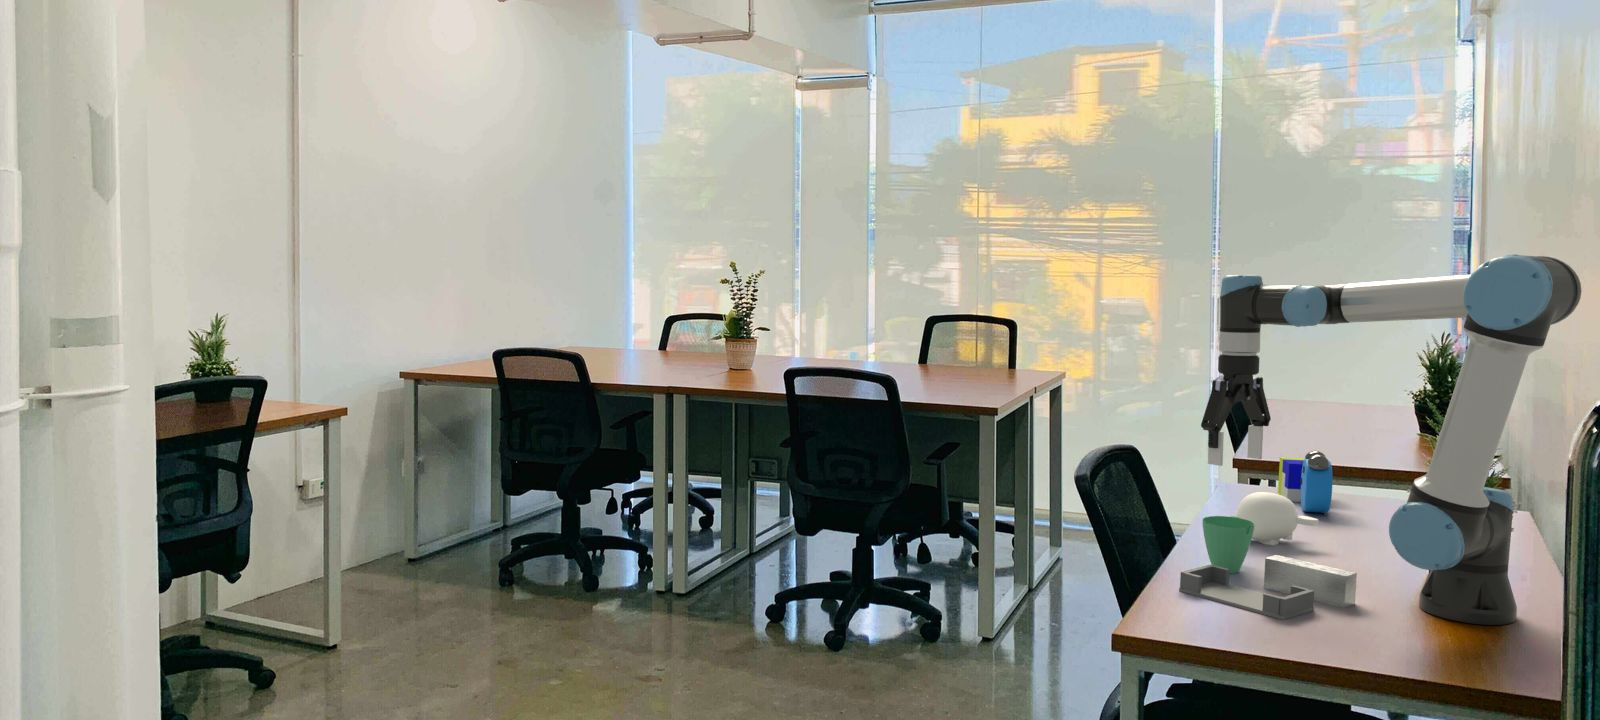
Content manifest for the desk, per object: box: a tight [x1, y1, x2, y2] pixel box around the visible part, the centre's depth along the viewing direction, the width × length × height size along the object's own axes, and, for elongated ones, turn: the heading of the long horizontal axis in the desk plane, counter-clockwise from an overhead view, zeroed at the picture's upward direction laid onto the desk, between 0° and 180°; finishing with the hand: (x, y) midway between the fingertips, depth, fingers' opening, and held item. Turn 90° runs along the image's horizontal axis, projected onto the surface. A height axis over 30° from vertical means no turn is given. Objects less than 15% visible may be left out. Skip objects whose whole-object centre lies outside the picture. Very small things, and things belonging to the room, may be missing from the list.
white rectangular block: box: [1263, 554, 1358, 609], centre depth 216 cm, size 16×4×6 cm, turn 39°
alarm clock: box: [1300, 450, 1333, 516], centre depth 289 cm, size 13×6×15 cm, turn 162°
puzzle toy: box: [1277, 456, 1305, 503], centre depth 306 cm, size 10×10×10 cm
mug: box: [1202, 515, 1254, 574], centre depth 235 cm, size 15×10×10 cm
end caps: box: [1178, 564, 1315, 621], centre depth 212 cm, size 21×10×4 cm, turn 37°
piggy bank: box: [1236, 491, 1319, 546], centre depth 257 cm, size 12×12×15 cm
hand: (1235, 461), depth 228 cm, fingers open, 13 cm apart
